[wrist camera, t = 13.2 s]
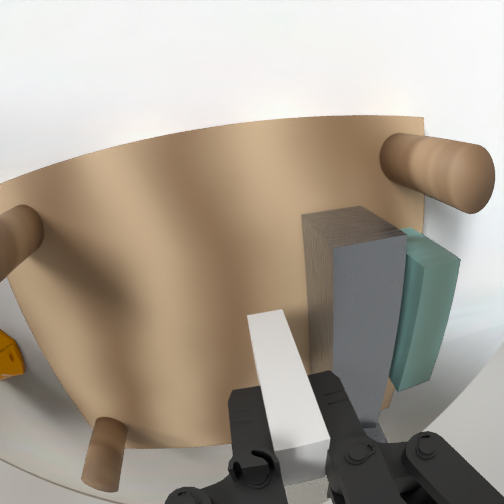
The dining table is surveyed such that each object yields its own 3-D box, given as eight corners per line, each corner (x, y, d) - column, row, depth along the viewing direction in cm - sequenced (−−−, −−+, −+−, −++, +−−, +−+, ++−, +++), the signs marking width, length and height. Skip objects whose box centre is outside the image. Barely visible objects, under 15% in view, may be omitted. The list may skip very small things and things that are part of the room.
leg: (359, 414, 19) (380, 461, 15) (300, 430, 19) (314, 481, 15) (376, 203, 13) (434, 237, 9) (282, 217, 13) (313, 260, 9)
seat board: (110, 433, 20) (98, 499, 14) (-4, 185, 12) (-84, 223, 6) (381, 394, 21) (415, 455, 15) (406, 116, 13) (499, 124, 7)
